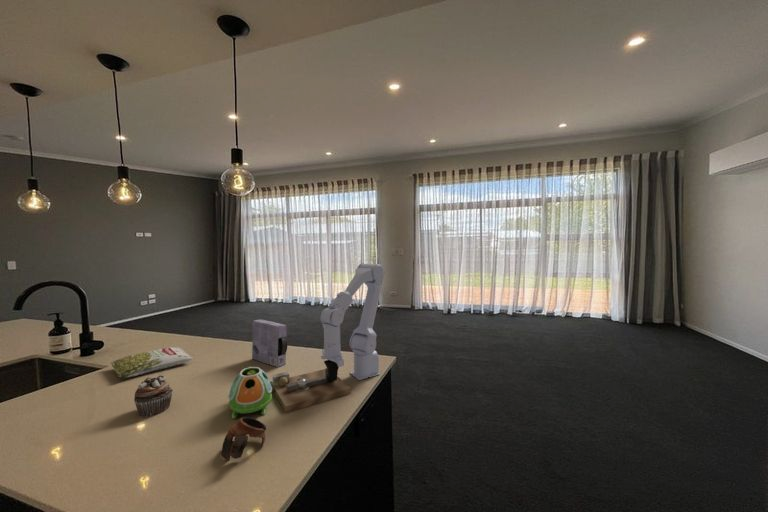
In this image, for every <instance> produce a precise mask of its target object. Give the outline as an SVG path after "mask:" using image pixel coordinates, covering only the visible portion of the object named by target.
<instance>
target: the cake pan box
mask: <svg viewBox="0 0 768 512" xmlns="http://www.w3.org/2000/svg"><path fill="white" fill-rule="evenodd" d="M251 342H252V344H251V345H252V347H251V348H252V349H251V358H252V359H251V360H255V361H258V362H261V363H262V364H265V363H266V365H269V364H270V366H273V367H276V368H280V367H282V365H283V366H286V364H287V362H286V361H287V351H288V339H287V325H286V324H282V323H278V322H276V321H275V322H274V321H269V320H266V319H262V318H261V319H256V320H252V340H251ZM279 366H280V367H279Z"/></svg>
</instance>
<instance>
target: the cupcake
mask: <svg viewBox="0 0 768 512" xmlns="http://www.w3.org/2000/svg"><path fill="white" fill-rule="evenodd" d="M166 379H167V377H165V376H163V375H159V376H157V377H153V378H152V377H146V378H145V379H144V381H142V382H140V384H139V385H138V387H137V388H136V390H135V393H134V399H133V402H134V404H135V406H136V411H137V415H138V414H139V417H141V416H142V417H143V418H146V416H148V417H153V415H154V416H157V415H160V414H162V413H164V412H166V411H167V410H169V408H170V407H171V401H172V396H173V391H174V390H173V389H172V387H170V383H169V382H167V381H166Z"/></svg>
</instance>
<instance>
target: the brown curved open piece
mask: <svg viewBox="0 0 768 512" xmlns="http://www.w3.org/2000/svg"><path fill="white" fill-rule="evenodd" d="M266 429H267V426H266V425H265V424H264V423H263V422H261V421H260V420H258V419H256V418H252V417H249V416H242V417H240V418H239V421H238V422H236V423H235V424H233V425H232V426H231V427H229V429H228V430H227V433H226V434H225V438H224V439H223V443H222V447H221V451H220V454H221V457H222V458H223V459H224V460H225V461H227V462H229V461H230V459H231V458H232V459H234V460H235V459H240V458H242V455H243V453H244V449H245V448H246V446H247V445H248V443H249V438H261V439H262V440H261V443H260V448H263V447H264V444H265V441H266V433H265V432H266ZM248 436H249V437H248Z"/></svg>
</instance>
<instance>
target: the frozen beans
mask: <svg viewBox="0 0 768 512" xmlns="http://www.w3.org/2000/svg"><path fill="white" fill-rule="evenodd" d="M191 360H194V357H192V356H191V355H190V354H189V353H187V352H186V351H184V350H183V349H182V348H181V347H180V346H177V347H176V346H175V347H174V346H171V347H168V346H167V347H163V348H158V349H157V348H156V349H153V350H149V351H144V352H140V353H135V354H132V355H131V354H130V355H127V356H124V357H121V358H118V359H116V360H113V361H111V362H110V365H111V366H112V368H113V370H114V371H115V373H116V375H117V376H118V379H119V378H133V377H136V376H140V375H141V376H142V375H145V374H149V373H152V372H157V371H161V370H163V369H168V368H171V367H172V368H173V367H176V366H179V365H182V364H183V365H184V364H186V363H188V362H189V361H191Z"/></svg>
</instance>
